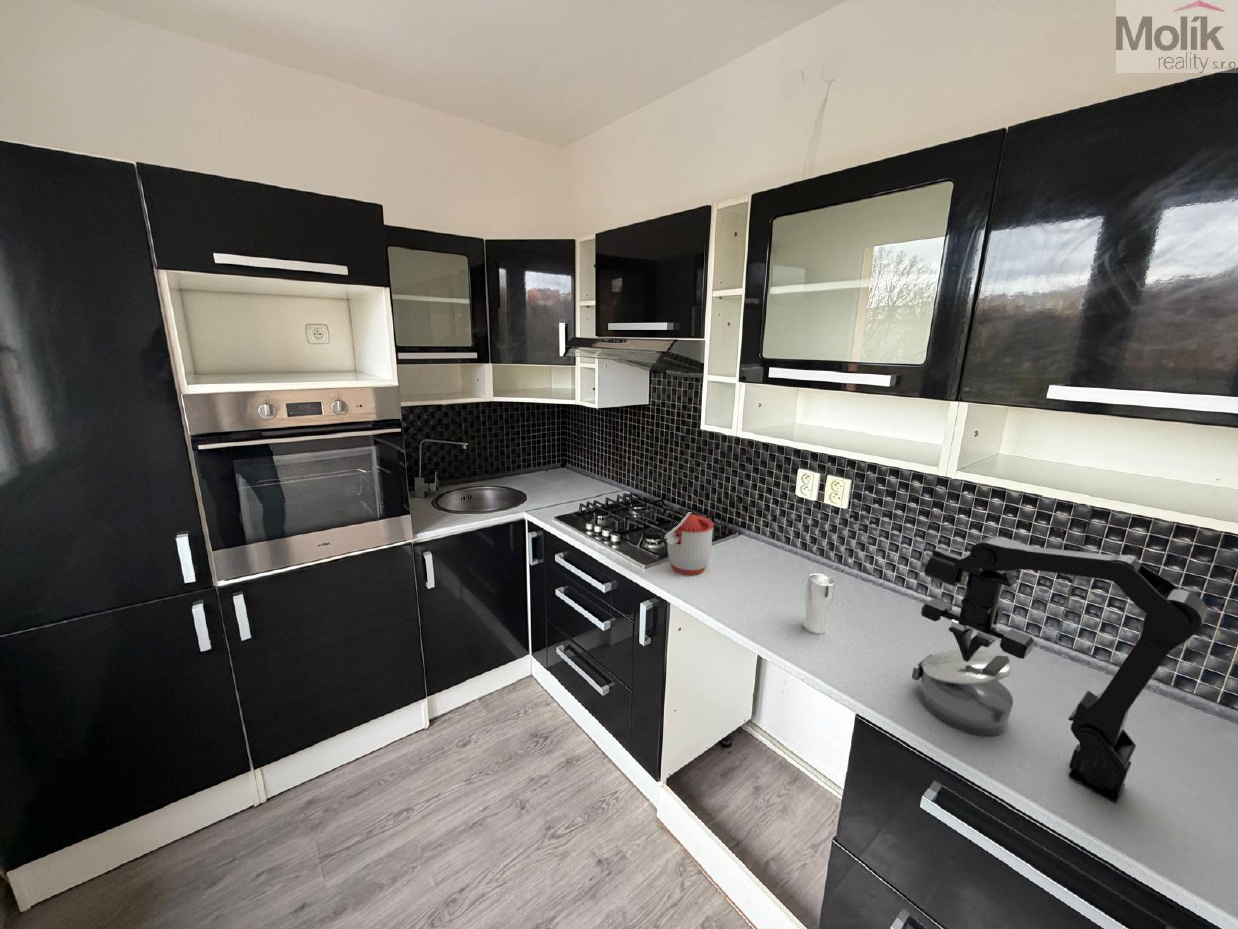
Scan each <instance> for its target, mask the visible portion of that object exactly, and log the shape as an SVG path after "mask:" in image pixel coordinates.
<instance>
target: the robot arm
mask: <svg viewBox="0 0 1238 929" xmlns="http://www.w3.org/2000/svg"><path fill="white" fill-rule="evenodd" d="M1020 570H1031V571H1038V572H1045V573H1054V574H1060V575H1067V576H1068V575H1069V576H1073V577H1075V576H1077V577H1083V578H1091V579H1098V580H1104V581H1105V580H1106V581H1111V582H1112V583H1114V584H1115V585H1116V586H1118V588H1120V590H1121V591H1122V592H1123V593H1124V594H1125V596H1127V597H1128V599H1129V600H1130V601H1131V602H1132V603H1133V604H1134V605H1135V606H1136V607H1137V608H1138V609H1140V610H1141V611H1143V612H1144V614H1145V615H1144V620H1143V623H1142V624H1141V625H1142V626H1141V630H1140V634H1139V638H1138V639H1137V641H1136V642H1135V644H1134V646H1133V647H1132V648H1131V650H1130V652H1129V653H1128V654H1127V656H1126V658H1124V661H1123V663H1122V664H1121V665H1120V667H1119V668H1118V670H1117V671H1116V672H1115V674H1114V676H1113V677H1112V678H1111V680H1110V682H1109V683H1108V685H1107V686H1106V688H1105V689H1104V690H1103V691H1102V692H1100V693H1099V694H1097V695H1095V693H1093V692H1092V691H1090V690H1087V691H1086V692H1085V694H1084V695H1083V697H1082V698H1081V699H1080V701H1079V702H1078V704H1077V705H1076V707H1075V708H1074V710H1073V711H1072V713H1071V714H1070V716H1069V717H1068V721H1071V725H1070V731H1071V732H1072V734H1073V736H1074V737H1075V739H1076V740H1077V741H1078V743H1079V744H1076V746H1075V748H1074V750H1073V752H1072V755H1071V759H1070V762H1069V764H1068V768H1069V769H1070V771H1069V773H1068V777H1069V778H1070V779H1071V780H1074V781H1075V782H1076V783H1079V784H1081V785H1083V786H1084V787H1086V788H1088V789H1090V790H1091V791H1093V792H1095V793H1096V794H1099V795H1100V796H1102V797H1103V798H1106V799H1107V800H1109V801H1111V802H1112V803H1115V804H1116V803H1118V801H1119V799H1120V797H1121V795H1122V793H1123V790H1124V789H1125V786H1126V783H1125V781H1126V779H1127V777H1128V774H1129V770H1130V768H1131V766H1132V765H1131V764H1132V762H1131V761H1130V760H1131V758H1132V756H1133V754H1134V752H1135V750H1136V747H1137V745H1136V744H1135V743H1134V742H1135V741H1133V739H1132V737H1130V736H1129V734H1128V733H1127V731H1126V730H1125V725H1126V722H1127V718H1128V716H1129V710H1130V708H1131V707H1132V705H1133V704H1134V703H1135V701H1136V700H1137V698H1138V697H1139V696H1140V694H1141V692H1142V691H1143V690H1144V688H1145V687H1146V685H1147V684H1148V683H1149V682H1150V680H1151V679H1152V677H1153V676H1154V674H1155V673H1156V672H1157V671H1158V669H1159V667H1160V666H1162V663H1163V662H1164V661H1165V659H1166V658H1167V656H1168V655H1169V654H1170V653H1171V652H1173V651H1174V650H1176V649H1177V648H1178V647H1180V646H1181V645H1183V644H1185V643H1186V642H1187V641H1188V640H1190V638H1192V637H1193V636H1194V635H1195V634H1197V633H1198V632H1200V630H1201V628H1202V626H1203V623H1204V621H1205V620H1206V619H1205V618H1206V617H1207V614H1208V606H1207V605H1206V603H1205V602H1204V600H1203V599H1201V598H1200V597H1199V596H1198V595H1196V594H1195V593H1193V592H1190V591H1188V590H1185V589H1182V588H1180V587H1178V586H1177V585H1176V584H1174V583H1173V582H1171V581H1170V580H1169V579H1167V578H1166V577H1164V576H1162V575H1160V574H1159V573H1157V572H1155V571H1154V570H1151V569H1150V568H1148V567H1146V566H1145V565H1143V564H1142V562H1140V561H1138V560H1137V559H1136V558H1134V557H1132V556H1130V555H1125V554H1116V555H1115V554H1114V555H1113V554H1104V553H1093V552H1087V551H1086V552H1085V551H1075V550H1065V549H1058V548H1057V549H1056V548H1048V547H1047V548H1046V547H1037V546H1032V545H1028V544H1025V543H1022V542H1020V541H1018V540H1014V539H1010V538H1005V537H1001V536H997V535H996V536H994V535H993V536H988V537H986V538H984V539H982V540H980V541H979V542H977V543H975V544H974V545H972V547H971V548H970V550H969V553H967V554H965V555H964V556H962V555H961V556H960V555H957V554H954V553H951V552H948V551H946V550H944V549H941V548H939V547H938V548H934V550H932V554H931V556H930V557H929V559H928V561H927V563H926V564H925V566H924V576H925V577H927V578H930V579H932V580H935V581H937V582H940V583H944V584H946V585H948V586H951V587H953V588H955V587H957V586H959V585H964V584H965V583H966V584H965V585H966V586H965V591H964V592H963V593H964V594H963V598H961V602H960V604H961V608H960V612H959V613H958V612H955V611H953V605H952V604H951V603H948V602H946V601H943V600H942V599H938V598H936V597H934V598H932V599H930V600H929V601H927V602H926V603H924V604H923V605H922V607H921V611H920V615H921V616H922V617H924V618H926V619H928V620H931V621H932V622H938V621H940V620H941V618H942V617H943V618H945V619H947V620H949V621H951V624H950V626H949V627H948V631H949V632H950V633H952V634H953V636H954V638H955V640H956V643H957V645H958V648H959V650H960V651H961V654H962V657H963V660H964V661H966V662H969V661H970V659H971V658H972V657H973V656H974V654H975V653H976V652H977V651H979V650H980V648H981V647H984V648H989V647H991V646H992V645H993V644H994V643H995V642H996V641H999V642H1000V643H999V648H1001V650H1002V652H1004V653H1006V654H1008V655H1011V656H1012V657H1015V658H1017V659H1022V660H1025V659H1026V657H1027V656H1028V655H1029V654H1030V653H1031V652H1032V651H1033V649H1034V646H1035V640H1034V638H1033V636H1030V635H1028V634H1025V633H1023V632H1020V631H1018V630H1016V629H1013V628H1010V629H1009V630H1008V631H1007V632H1004V631H1001V630H1000V629H999V628H997V627H994V626H997V625H998V624H999V622H1000V621H1001V619H1002V617H1003V614H1004V611H1005V608H1006V607H1005V606H1003V605H1001V604H1000V596H1001V593H1002V590H1003V586H1006V587H1007V588H1011V587H1013V586H1014V585H1016V584H1017V583H1018V579H1017V578H1016V577H1015V576H1013V574H1012V573H1011V572H1012V571H1020ZM974 631H975V632H976V635H974V636H973V637H972V635H973V633H974Z"/></svg>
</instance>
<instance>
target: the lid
mask: <svg viewBox="0 0 1238 929" xmlns="http://www.w3.org/2000/svg"><path fill="white" fill-rule="evenodd" d="M927 656H928V657H927ZM927 656H926V657H927V658H926V657H925V658H924V660H923V659H922V660H923V661H922V660H920V661H919V662H918V663H919V664H918V663H917V664H918V666H919V667H920V668H923V671H924V673H925V674H926V675H927V676H929V677H931V678H933V679H935V680H938V681H942V682H947V683H953V684H983V683H990V682H994V681H1000V680H1003V679H1005V678H1007V677H1008V676H1010V675H1011V674H1012V671H1013V668H1012V664H1011V662H1010V658H1009V656H1007V655H1006V656H1005V655H1000V654H997V653H994V652H990V651H984V650H978V651H977V652H976V653H975V654H974V656H973V657H972V658H971V659H970V661H969V662H966V661H964V660H963V657H962V654H961V651H960V649H959V650H948V651H944V652H939V653H936V654H929V655H927Z"/></svg>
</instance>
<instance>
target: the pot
mask: <svg viewBox="0 0 1238 929" xmlns="http://www.w3.org/2000/svg"><path fill="white" fill-rule="evenodd" d="M928 656H929V655H927V656H926V657H925V658H927V657H928ZM925 658H924V659H925ZM924 659H922V660H921V661H923V660H924ZM919 663H920V662H918V663H917V664H916V665H914V667H913V670H912V673H911V679H912V680H914V681H916V682H917V681H920V684H919V690H918V694H917V695H918V698H919V700H920V703H921V704H922V706H923V707H924V708H925V710H927V712H928V713H929V714H931V715H932V716H933V717H934V718H936V719H937V720H939V721H940V722H942V723H943V724H946V725H947V726H949V727H951V728H953V729H954V730H958V731H960V732H963V733H966V734H968V735H972V736H975V737H984V738H985V737H986V738H988V737H990V738H992V737H996V736H1000V735H1002V734H1003V733H1005V731H1006V729H1007V727H1008V723H1009V718H1010V714H1011V712H1012V708H1013V704H1014V699H1013V696H1012V694H1011V692H1010V691H1009V689H1008V688H1006V686H1004V684H1003V683H1001V682H1000V680H998V681H994V682H990V683H983V684H953V683H947V682H942V681H938V680H935V679H933V678H931V677H929V676H927V675H926V674H925V673H924V671H923V668H920V667H919V666H918V664H919Z"/></svg>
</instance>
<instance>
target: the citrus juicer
mask: <svg viewBox="0 0 1238 929" xmlns="http://www.w3.org/2000/svg"><path fill="white" fill-rule="evenodd" d="M714 527H715V526H714V522H713V521H712V520H711V519H709V518H707V517H705V516H702V515H697V514H692V513H689V514H688V515H687V517H686V518H685V519H684V520H683V521H682V523H681V524H680V525H679V526H678V527H677V528H675V529H674V530H673V531H672V532H670V533H669V534H668V535H667V536H666V538H665V539H666V543H667V555H668V560H669V564H670V566H671V569H672V570H673V571H675V572H677V573H679V574H681V575H682V574H683V575H685V576H691V575H699V574H701V573H703V572H704V571H705V569H706V568H707V566H708V564H709V560H710V559H711V552H712V544H713V543H712V542H713V530H714V529H713V528H714Z"/></svg>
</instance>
